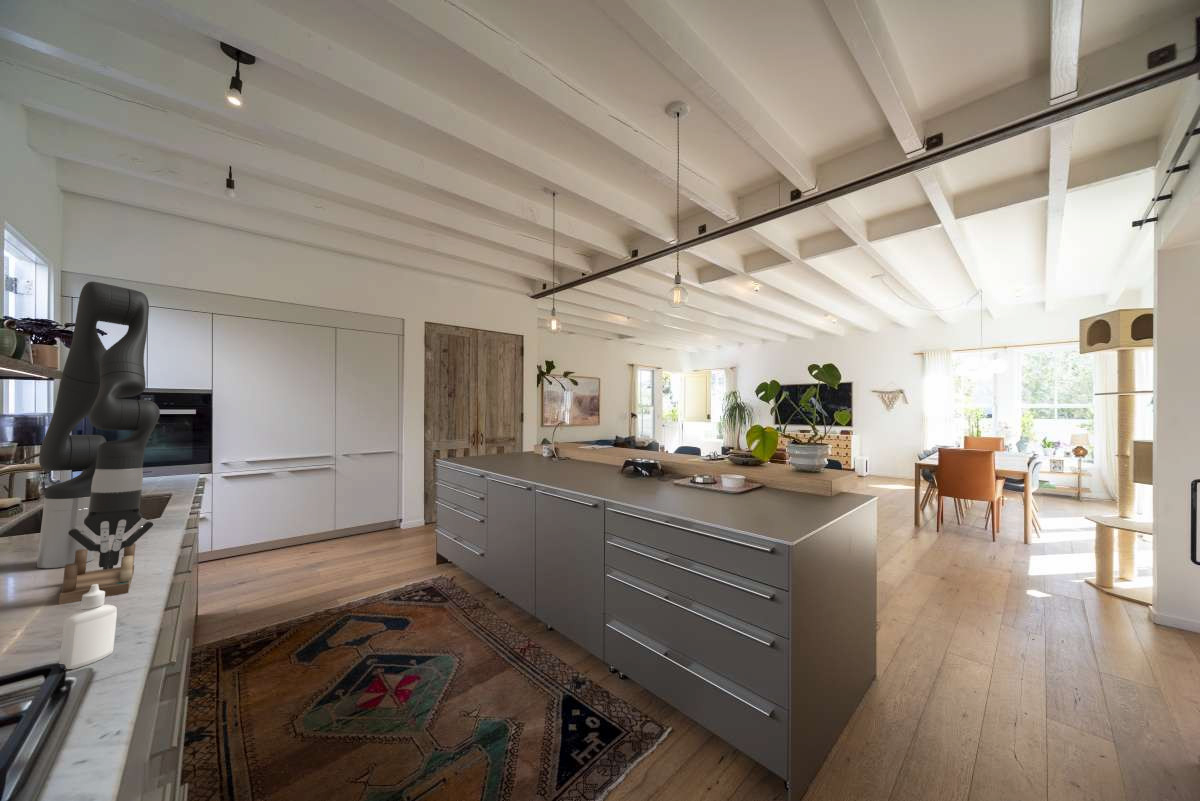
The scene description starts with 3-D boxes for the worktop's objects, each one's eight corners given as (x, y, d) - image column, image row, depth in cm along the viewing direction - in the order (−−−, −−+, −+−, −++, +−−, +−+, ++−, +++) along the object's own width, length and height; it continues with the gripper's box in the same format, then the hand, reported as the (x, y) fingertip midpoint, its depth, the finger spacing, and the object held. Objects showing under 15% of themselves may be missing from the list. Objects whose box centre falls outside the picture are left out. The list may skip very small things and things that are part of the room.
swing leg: (121, 570, 102) (123, 547, 102) (132, 568, 103) (134, 546, 103) (119, 582, 94) (121, 558, 95) (131, 580, 96) (133, 556, 96)
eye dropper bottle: (113, 659, 70) (121, 583, 70) (58, 673, 65) (67, 593, 66) (112, 649, 72) (119, 577, 73) (59, 663, 68) (67, 585, 69)
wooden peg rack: (72, 582, 100) (76, 549, 100) (133, 573, 106) (136, 542, 107) (58, 604, 88) (62, 567, 89) (127, 592, 95) (131, 558, 95)
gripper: (69, 493, 88) (58, 580, 87) (161, 488, 98) (152, 566, 97) (70, 488, 93) (60, 570, 92) (158, 484, 103) (150, 558, 102)
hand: (108, 568), depth 94 cm, fingers closed
